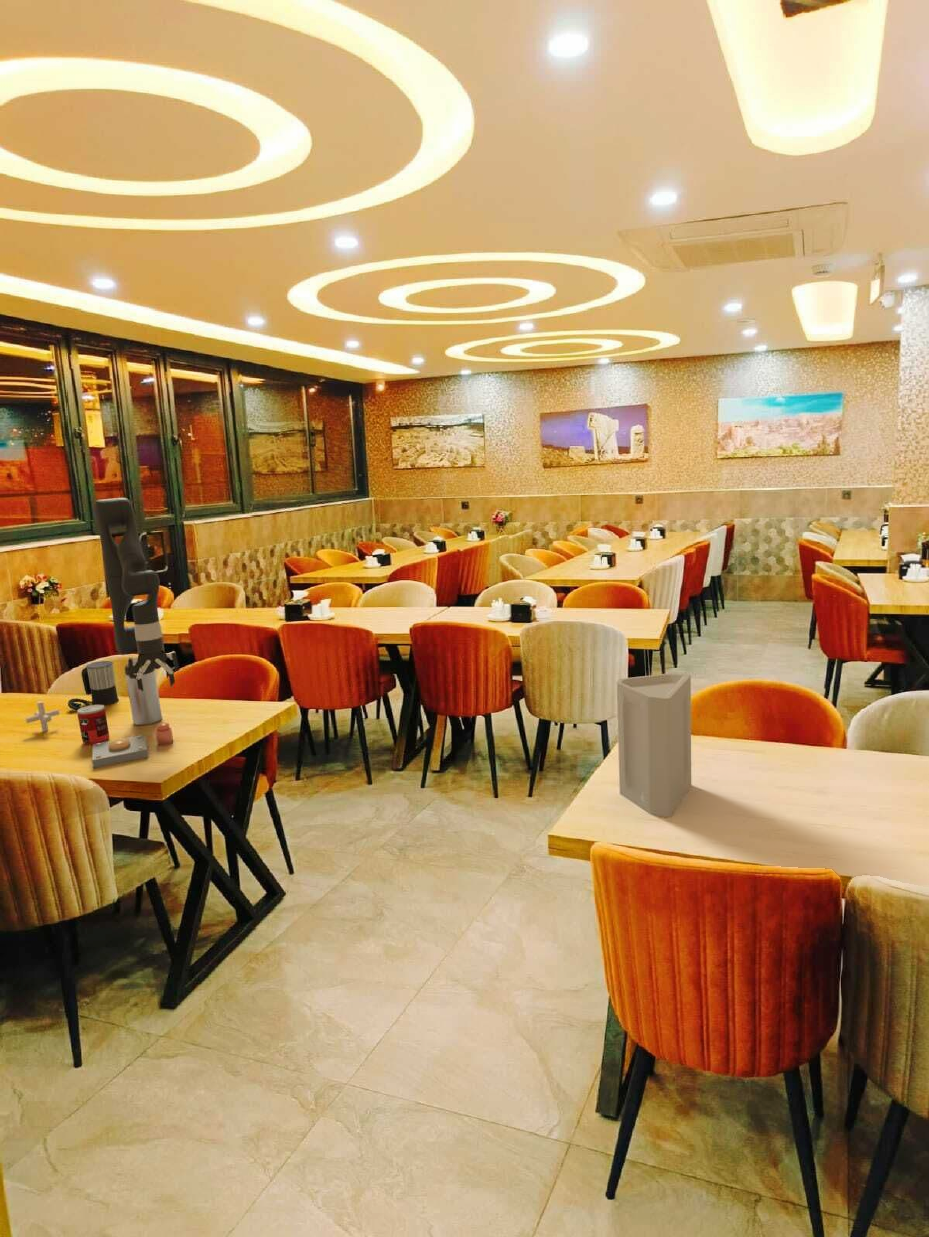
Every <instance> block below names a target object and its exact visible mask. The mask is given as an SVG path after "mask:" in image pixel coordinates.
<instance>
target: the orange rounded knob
mask: <svg viewBox="0 0 929 1237" xmlns="http://www.w3.org/2000/svg"><path fill="white" fill-rule="evenodd" d="M155 736H156V741H157V745H158V746H168V745H171V744H173V743H174V738H173V730H172V727H171V726H170V724H169V722H161V723H158V724H157V725H156V729H155Z"/></svg>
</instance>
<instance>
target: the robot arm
mask: <svg viewBox="0 0 929 1237" xmlns="http://www.w3.org/2000/svg"><path fill="white" fill-rule="evenodd" d="M94 516H95V520H96V525H97V530H98V534H99V538H100V544H101V548H102V555H103V563H104V569H105V570H104V572H105V578H106V584H107V590H108V594H109V600H110V605H111V612H112V621H113V622H112V623H113V632H114V633H113V634H114V643H115V646H116V647H115V648H116V650H117V652H118V654H119V655H121V656H123V655H124V656H125V655H131V654H137V657H134V658H132V657H128V658H127V664H126V665H125V666H124V672H125V681H126V685H127V692H128V698H129V704H130V705H129V706H130V709H131V710H130V711H131V715H132V721H133V722H132V723H133V724H134V725H137V726H145V725H150V724H154V723H157V722H159V721H161V720H162V719H163V715H162V709H161V701H160V695H159V689H158V681H157V676H156V670H160V668H162V669H164V670H165V671H166V672H167V674H168V679H169V684H170V687H172V686H174V684H175V681H176V680H175V673H176V672H179V671H180V667H179V661H178V657H177V653H176V651H175V650H172V651H171V652H168V653H167V652H165V645H164V639H163V631H162V626H161V623H160V617H159V610H158V599H159V598H158V596H159V590H160V581H161V580H160V578H159V575H158V573H157V572H156V571H155V570H152V569H150V570H147V565H148V564H147V560H146V558H145V555H144V552H143V549H142V546H141V542H140V536H139V530H138V529H139V528H138V525H137V521H136V515H135V510H134V507H133V505H132V502H131V501H130V499H128V498H127V497H117V498H115V497H114V498H107V499H103V498H102V499H97V500H96V501H95V502H94ZM124 527H125V528H126V529H125V532H124V534H123V536H122V537H121V539H120V541H119V543H117V542H116V541H115V540H114V538H113V536H112V533H111V530H110V529H117V528H124ZM145 595H147V597H146V598H145V599H144V600H143V601H140V602H137V603H135V604H134V605H133V606H132V608H131V610H132V618H133V623H134V624H133V625H128V626H126V625H125V621H126V620H125V619H126V615H127V612H128V610H129V608H130V606H131V603H132V602H133V600H134V598H135V597H139V596H145ZM167 659H170V660H171V661H172V662H173V667H171V666H169V665H168V664H167V662H166V660H167Z"/></svg>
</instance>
